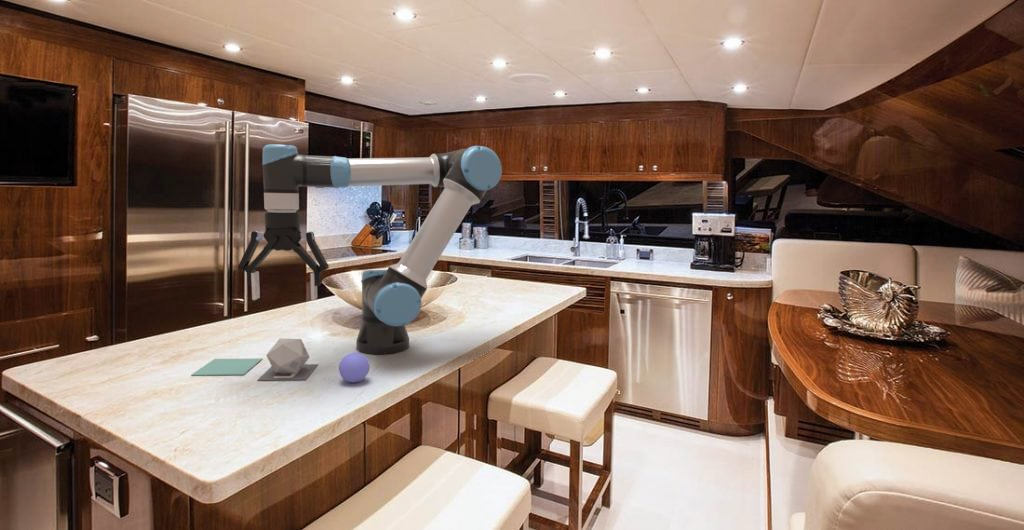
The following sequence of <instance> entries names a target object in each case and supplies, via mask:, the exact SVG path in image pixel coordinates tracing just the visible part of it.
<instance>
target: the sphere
mask: <svg viewBox="0 0 1024 530" xmlns="http://www.w3.org/2000/svg"><path fill="white" fill-rule="evenodd" d="M369 370H370V363H369V360H368V358H367V357H366V356H365V355H364V354H363V353H361V352H351V353H348V354H346V355H344V357H342V359H341V360H340V362H339V364H338V372H339V375H340V377H341V378H342V379H343V380H344V381H346V382H349V383H359V382H361V381H362V380H364V379H365V378H366V377H367V376H368V374H369V372H370V371H369Z"/></svg>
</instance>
